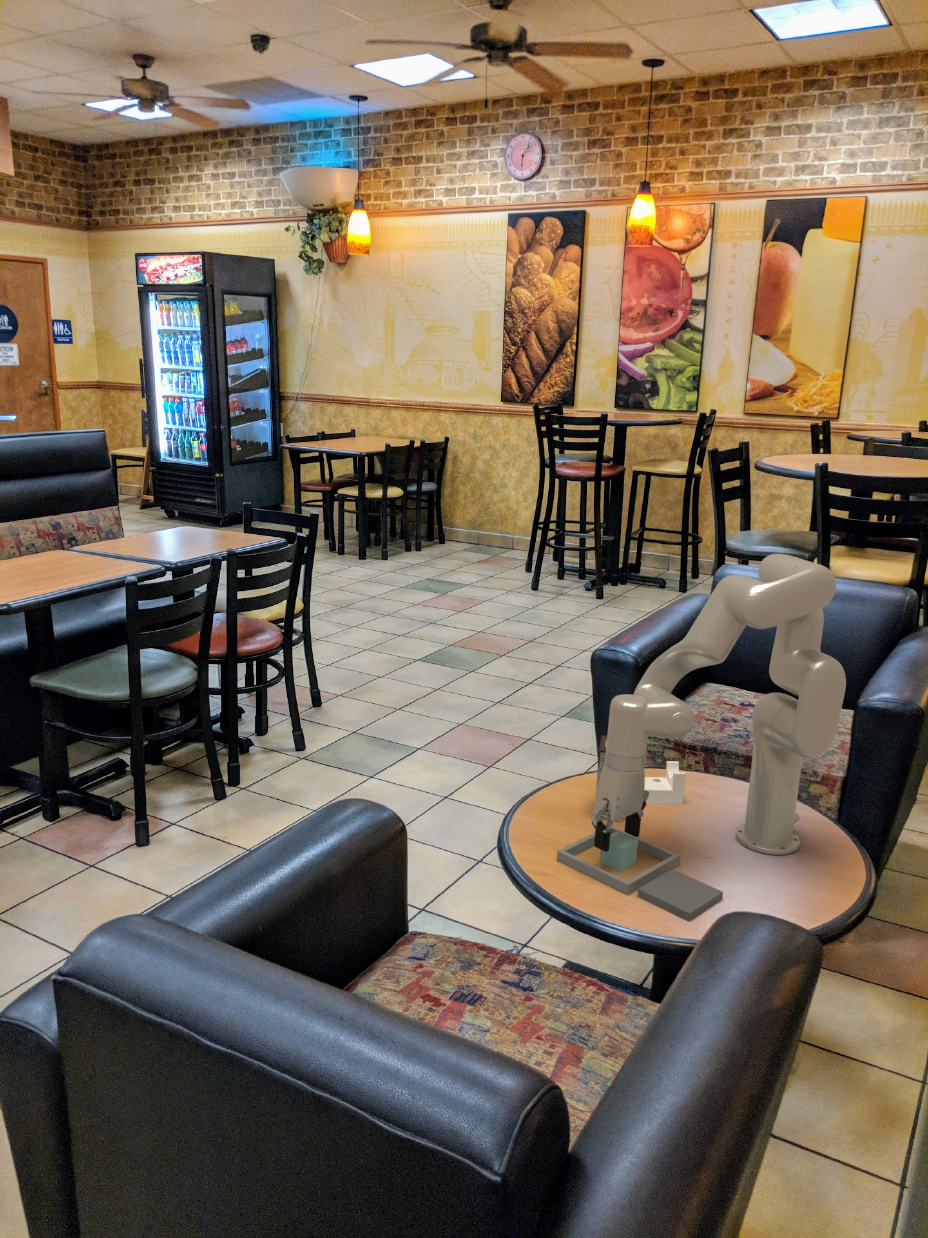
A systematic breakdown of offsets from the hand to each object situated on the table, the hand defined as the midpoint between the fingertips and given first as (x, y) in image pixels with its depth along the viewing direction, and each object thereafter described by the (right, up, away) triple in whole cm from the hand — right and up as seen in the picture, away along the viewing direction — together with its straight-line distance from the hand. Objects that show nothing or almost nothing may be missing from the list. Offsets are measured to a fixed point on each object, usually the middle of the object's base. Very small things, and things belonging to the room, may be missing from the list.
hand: (616, 841), depth 184 cm
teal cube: (0, -4, +1) cm, 5 cm away
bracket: (+13, +2, +31) cm, 34 cm away
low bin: (0, -4, +1) cm, 5 cm away
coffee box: (+2, +1, +23) cm, 23 cm away
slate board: (+10, -8, -11) cm, 16 cm away
